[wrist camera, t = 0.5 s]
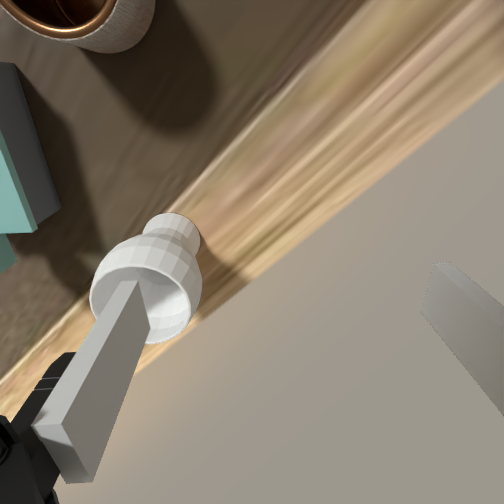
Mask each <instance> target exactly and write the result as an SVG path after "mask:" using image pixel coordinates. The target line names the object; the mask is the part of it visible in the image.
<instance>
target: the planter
mask: <svg viewBox="0 0 504 504" xmlns="http://www.w3.org/2000/svg"><path fill="white" fill-rule="evenodd" d="M0 6H1V7H2V8H3V9H4V10H5V11H6V12H7V13H8V14H9V15H10V16H11V17H12V18H13V19H15V20H16V21H17V22H18V23H20V24H21V25H23V26H24V27H26V28H27V29H29V30H31V31H32V32H34V33H36V34H38V35H41V36H43V37H46V38H49V39H52V40H56V41H60V42H63V43H67V44H71V45H74V46H78V47H81V48H84V49H88V50H91V51H95V52H99V53H118V52H122V51H125V50H127V49H129V48H131V47H133V46H134V45H136V44H137V43H138V42H139V41H140V40H141V39H142V38H143V37H144V35H145V34H146V32H147V31H148V29H149V27H150V24H151V22H152V19H153V15H154V10H155V0H0Z"/></svg>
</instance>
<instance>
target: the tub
mask: <svg viewBox="0 0 504 504" xmlns="http://www.w3.org/2000/svg"><path fill="white" fill-rule="evenodd" d="M0 130H1V133H2V135H3V138H4V140H5V143H6V146H7V148H8V151H9V154H10V156H11V159H12V161H13V164H14V167H15V169H16V172H17V175H18V177H19V180H20V183H21V185H22V188H23V190H24V193H25V196H26V198H27V201H28V204H29V206H30V209H31V212H32V214H33V217H34V219H35V222H36V225H37V224H39V223H40V222H42V221H43V220H45V219H46V218H48V217H49V216H51V215H52V214H54V213H55V212H57V211H58V210H60V209H61V208H62V207H61V204H60V201H59V198H58V195H57V192H56V189H55V186H54V183H53V180H52V177H51V174H50V171H49V168H48V165H47V162H46V159H45V156H44V153H43V149H42V146H41V143H40V140H39V137H38V134H37V131H36V128H35V125H34V122H33V119H32V116H31V113H30V110H29V107H28V104H27V101H26V98H25V95H24V92H23V89H22V86H21V83H20V80H19V77H18V74H17V71H16V67H15V64H14V63H6V62H0Z"/></svg>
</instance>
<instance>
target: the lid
mask: <svg viewBox="0 0 504 504" xmlns="http://www.w3.org/2000/svg"><path fill="white" fill-rule="evenodd" d="M37 229H38V227H37V225H36V222H35V219H34V217H33V214H32V212H31V209H30V206H29V204H28V201H27V198H26V196H25V193H24V190H23V188H22V185H21V183H20V180H19V177H18V175H17V172H16V169H15V167H14V164H13V161H12V159H11V156H10V154H9V151H8V148H7V146H6V143H5V140H4V138H3V135H2V133H1V130H0V274H1V273H2V272H4V271H5V270H6V269H8V268H9V267H10V266H11V265H13V264H14V263H15V262H17V259H16V256H15V254H14V252H13V250H12V247H11V245H10V243H9V240H8V238H7V236H6V234H5V233H29V232H34V231H35V230H37Z"/></svg>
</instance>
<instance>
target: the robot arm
mask: <svg viewBox="0 0 504 504" xmlns="http://www.w3.org/2000/svg"><path fill="white" fill-rule="evenodd" d="M421 313H422V315H423V316H424V317H425V318H426V320H427V321H428V322H429V323H430V325H431V326H432V327H433V328H434V329H435V331H436V332H437V333H438V334H439V336H440V337H441V338H442V340H443V341H444V342H445V343H446V345H447V346H448V347H449V348H450V349H451V351H452V352H453V353H454V355H456V357H457V358H458V360H459V361H460V362H461V363H462V365H463V366H464V367H465V368H466V370H467V371H468V372H469V373H470V375H471V376H472V377H473V378H474V380H475V381H476V382H477V383H478V385H480V387H481V388H482V389H483V391H484V392H485V393H486V394H487V396H488V397H489V398H490V399H491V401H492V402H493V403H494V404H495V406H496V407H497V408H498V409H499V411H500V412H501V413H502V414H503V416H504V306H502V305H501V304H500V303H499V302H498V301H497V300H495V299H494V298H493V297H492V296H491V295H489V294H488V293H487V292H486V291H485V290H483V289H482V288H481V287H480V286H479V285H477V284H476V283H475V282H474V281H472V280H471V279H470V278H469V277H468V276H467V275H465V274H464V273H463V272H462V271H460V270H459V269H458V268H457V267H456V266H454V265H453V264H452V263H450V262H448V263H434V264H433V267H432V271H431V275H430V279H429V283H428V287H427V290H426V294H425V299H424V302H423V306H422V310H421ZM150 329H151V328H150V324H149V320H148V316H147V312H146V309H145V305H144V301H143V297H142V293H141V289H140V286H139V282H138V280H137V281H121V282H120V284H119V285H118V287H117V288H116V290H115V292H114V293H113V295H112V296H111V298H110V300H109V301H108V303H107V304H106V306H105V308H104V309H103V311H102V312H101V314H100V316H99V317H98V319H97V320H96V322H95V324H94V325H93V327H92V328H91V330H90V332H89V333H88V335H87V336H86V338H85V340H84V341H83V343H82V344H81V346H80V348H79V349H78V351H77V352H68V353H64V354H62V355H61V356H60V357H59V358H58V359H57V360H55V361H54V362H53V363H52V364H51V365H50V367H49V368H48V369H47V371H46V372H45V374H44V375H43V377H42V380H40V381H39V382H38V384H37V385H36V387H35V388H34V391H32V393H31V394H30V395H29V397H28V398H27V400H26V401H25V403H24V404H23V406H22V407H21V408H20V410H19V411H18V413H17V414H16V416H15V417H14V419H13V420H12V422H11V423H10V422H9V421H8V420H7V418H6V417H5V416H2V415H0V504H59V502H58V498H57V494H56V492H55V491H54V489H53V487H54V484H55V482H56V480H57V478H58V476H59V474H61V476H62V477H63V479H64V481H65V482H66V484H70V483H86V482H93V479H94V477H95V474H96V471H97V469H98V466H99V463H100V461H101V458H102V456H103V453H104V450H105V448H106V445H107V442H108V440H109V437H110V434H111V432H112V429H113V426H114V424H115V421H116V418H117V416H118V413H119V411H120V408H121V405H122V402H123V400H124V397H125V395H126V392H127V390H128V387H129V384H130V382H131V379H132V376H133V374H134V371H135V368H136V366H137V363H138V360H139V358H140V355H141V353H142V350H143V347H144V345H145V342H146V339H147V337H148V334H149V331H150Z"/></svg>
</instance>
